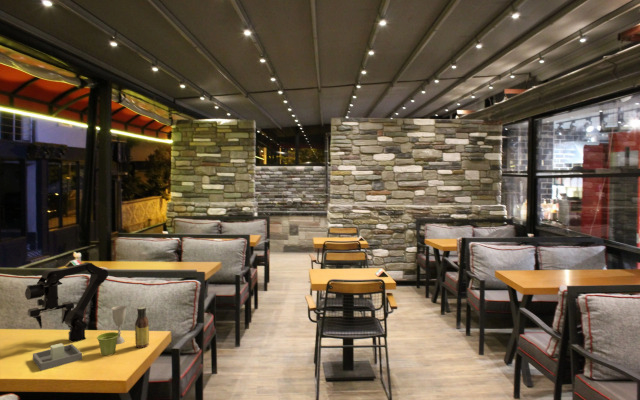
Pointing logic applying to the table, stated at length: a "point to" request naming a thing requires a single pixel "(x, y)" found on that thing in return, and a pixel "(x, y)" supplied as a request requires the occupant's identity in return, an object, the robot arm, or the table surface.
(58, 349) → the sage block
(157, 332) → the table surface
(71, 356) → the tray
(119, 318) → the chalice
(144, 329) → the sauce bottle
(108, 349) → the plant pot
